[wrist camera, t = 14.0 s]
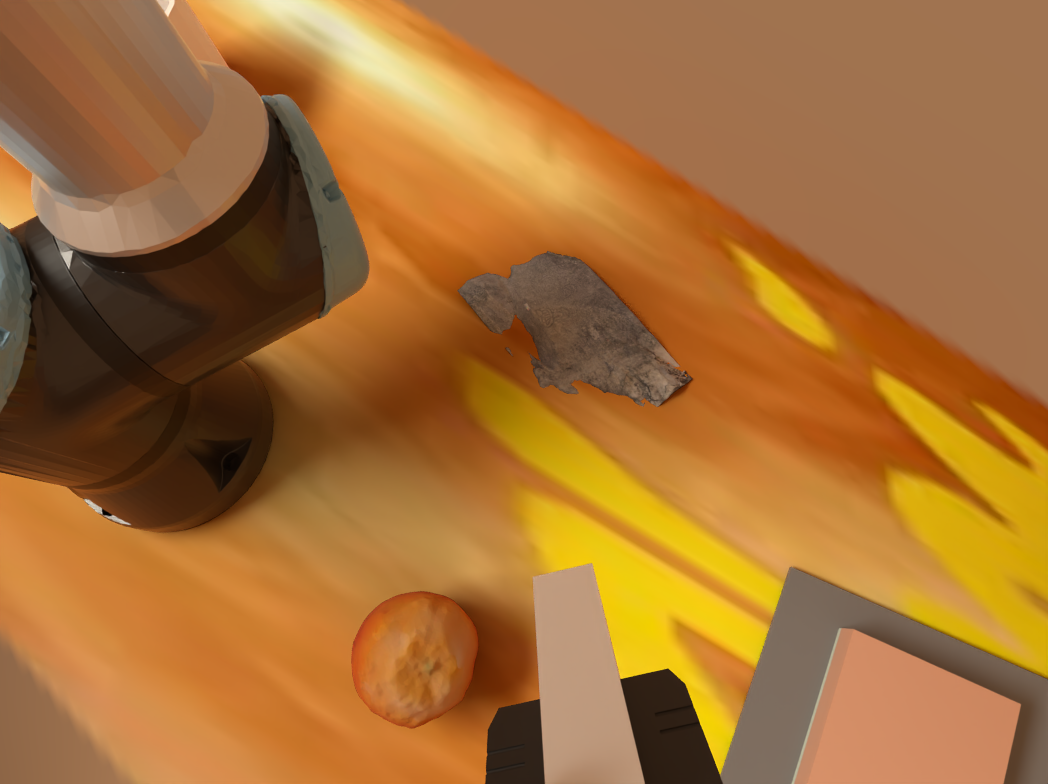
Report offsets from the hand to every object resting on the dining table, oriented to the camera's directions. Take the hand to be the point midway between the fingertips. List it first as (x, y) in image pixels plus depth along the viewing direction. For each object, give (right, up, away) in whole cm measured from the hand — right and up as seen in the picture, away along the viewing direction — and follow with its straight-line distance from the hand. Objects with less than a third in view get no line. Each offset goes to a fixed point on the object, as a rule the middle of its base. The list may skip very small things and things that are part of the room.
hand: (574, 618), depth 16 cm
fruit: (-8, -13, +29) cm, 33 cm away
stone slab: (+3, +10, +36) cm, 38 cm away
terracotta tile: (+18, -26, +21) cm, 37 cm away
